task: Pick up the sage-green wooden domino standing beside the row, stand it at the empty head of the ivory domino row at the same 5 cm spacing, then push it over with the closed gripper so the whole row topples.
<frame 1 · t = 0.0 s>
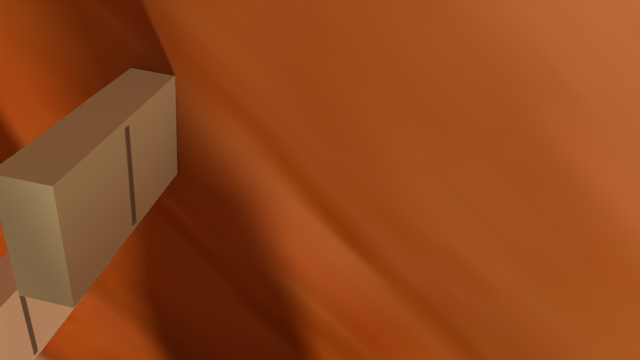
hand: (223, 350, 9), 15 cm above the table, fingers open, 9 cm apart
domino 2: (61, 260, 30), on the table
sage domino: (155, 123, 25), on the table
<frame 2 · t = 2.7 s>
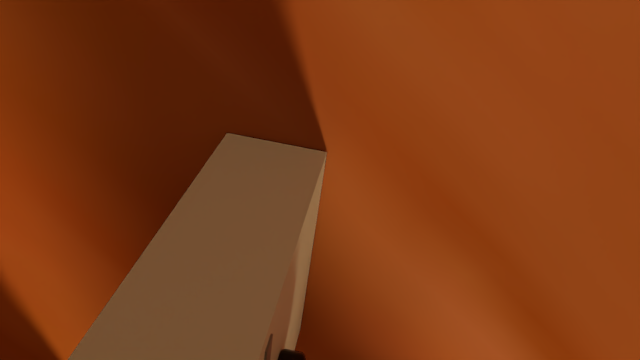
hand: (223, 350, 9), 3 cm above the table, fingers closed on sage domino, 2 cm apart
sage domino: (267, 241, 12), on the table, touching gripper
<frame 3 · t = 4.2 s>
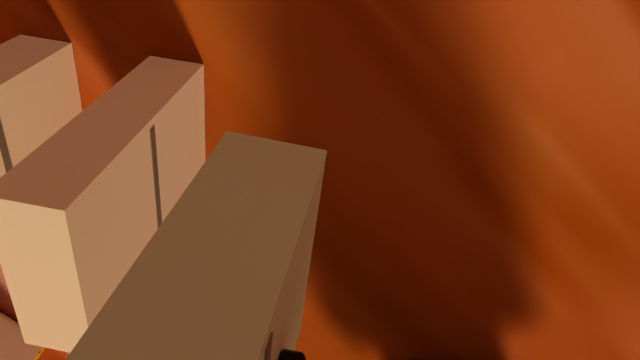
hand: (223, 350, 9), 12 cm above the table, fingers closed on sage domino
domino 2: (179, 121, 21), on the table
sage domino: (267, 240, 12), point 9 cm above the table, touching gripper
domino 3: (57, 100, 21), on the table
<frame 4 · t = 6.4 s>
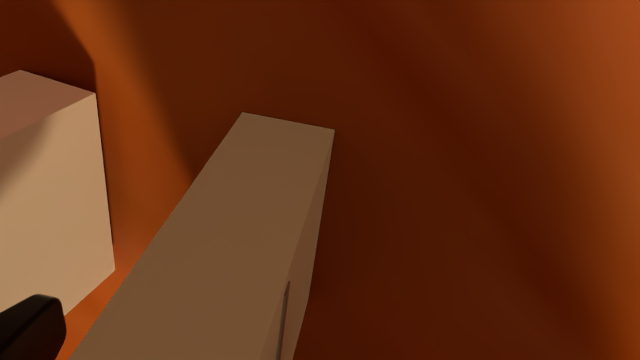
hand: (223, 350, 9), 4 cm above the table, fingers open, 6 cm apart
domino 2: (71, 178, 13), on the table, tilted 12°
sage domino: (278, 215, 13), on the table
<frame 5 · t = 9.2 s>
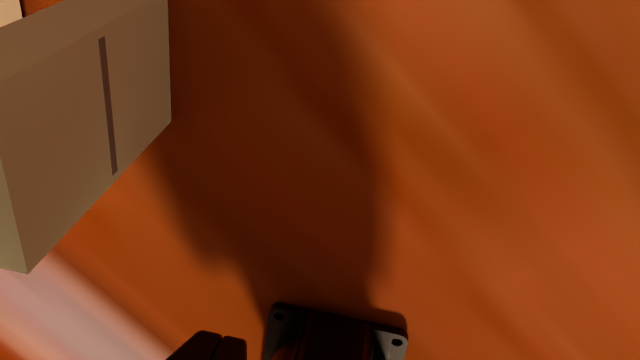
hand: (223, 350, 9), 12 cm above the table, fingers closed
domino 2: (8, 34, 20), on the table, tilted 19°, touching domino 3
sage domino: (143, 55, 20), on the table
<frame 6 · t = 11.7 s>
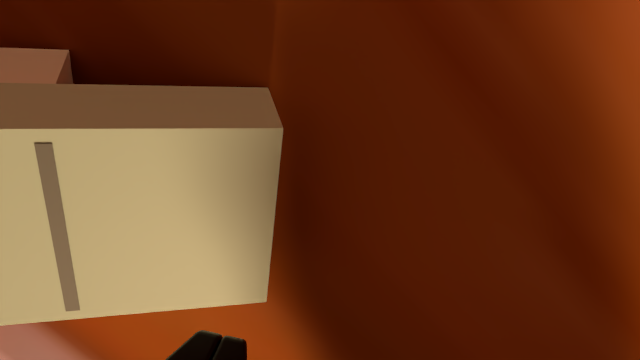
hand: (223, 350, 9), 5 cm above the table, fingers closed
domino 2: (75, 159, 14), point 1 cm above the table, tilted 67°, touching domino 3, sage domino
sage domino: (267, 199, 13), point 1 cm above the table, tilted 67°, touching domino 2
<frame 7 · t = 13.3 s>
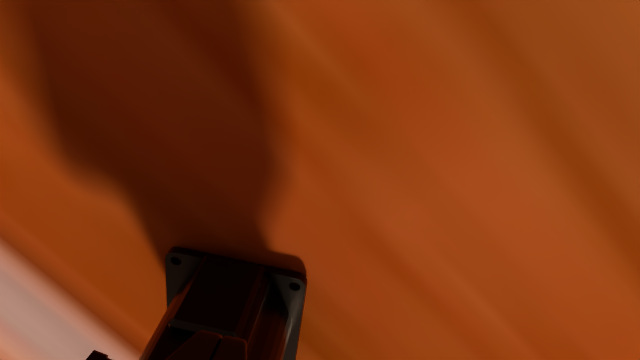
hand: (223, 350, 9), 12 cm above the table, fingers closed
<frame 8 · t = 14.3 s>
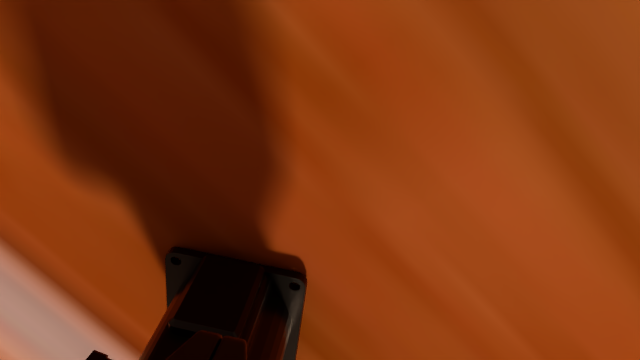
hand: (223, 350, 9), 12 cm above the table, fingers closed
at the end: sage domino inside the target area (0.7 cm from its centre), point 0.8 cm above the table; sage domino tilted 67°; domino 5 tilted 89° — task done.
